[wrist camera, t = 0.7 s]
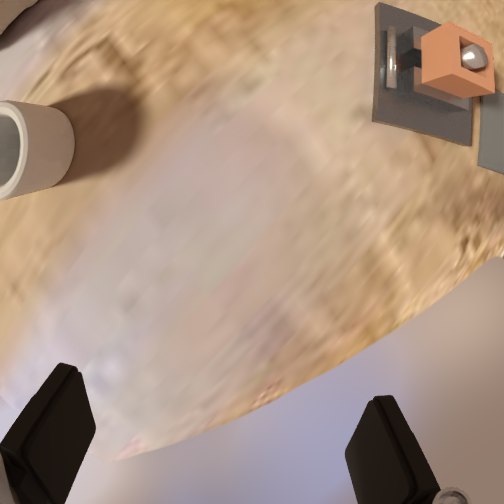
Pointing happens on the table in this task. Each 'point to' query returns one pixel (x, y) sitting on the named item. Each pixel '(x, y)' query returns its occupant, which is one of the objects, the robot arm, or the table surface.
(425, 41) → the collar
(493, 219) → the table surface
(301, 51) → the table surface
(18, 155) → the mug
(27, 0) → the jerry can
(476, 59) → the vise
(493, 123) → the mat
